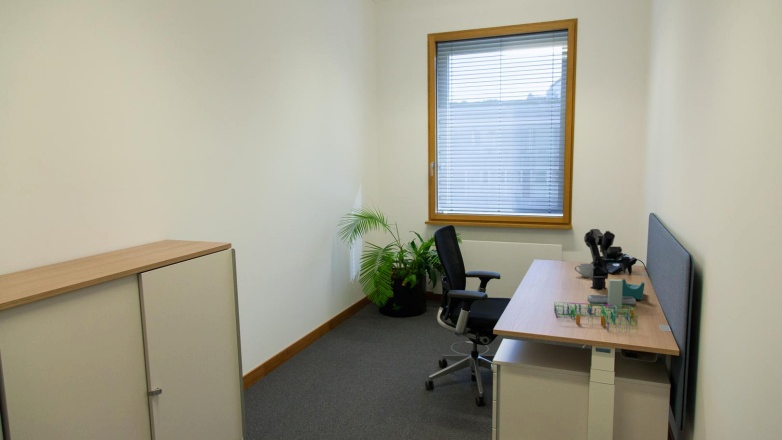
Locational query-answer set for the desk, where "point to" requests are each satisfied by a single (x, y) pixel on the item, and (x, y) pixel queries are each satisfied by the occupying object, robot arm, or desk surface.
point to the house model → (603, 318)
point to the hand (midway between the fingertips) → (616, 272)
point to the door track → (604, 300)
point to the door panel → (615, 293)
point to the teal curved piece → (633, 290)
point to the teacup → (585, 269)
